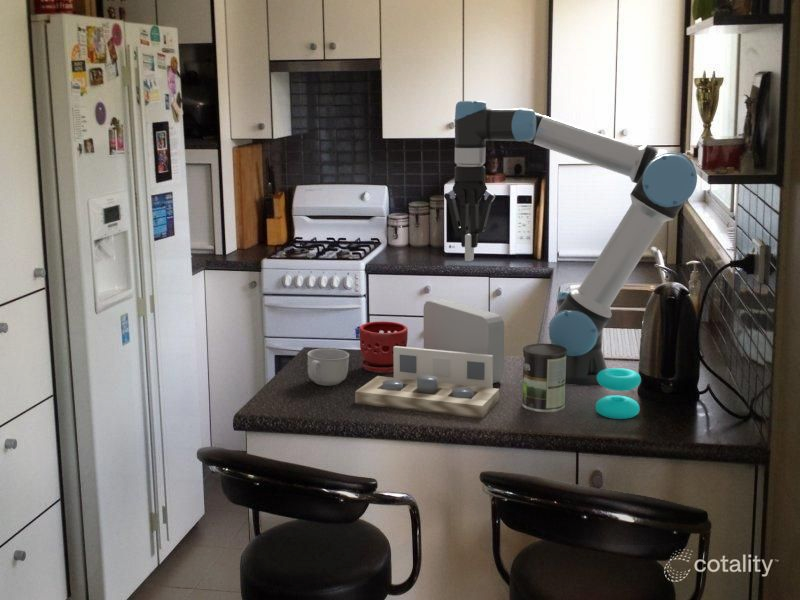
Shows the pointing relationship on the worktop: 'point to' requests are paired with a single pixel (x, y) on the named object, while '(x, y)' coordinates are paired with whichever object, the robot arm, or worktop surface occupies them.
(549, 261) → the worktop surface
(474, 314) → the rounded white slab
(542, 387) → the coffee can
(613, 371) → the donuts
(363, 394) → the button board
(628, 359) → the worktop surface
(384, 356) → the plant pot
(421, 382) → the button centre
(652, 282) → the worktop surface
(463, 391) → the button
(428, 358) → the pattern card
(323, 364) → the teacup
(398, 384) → the button
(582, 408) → the worktop surface
